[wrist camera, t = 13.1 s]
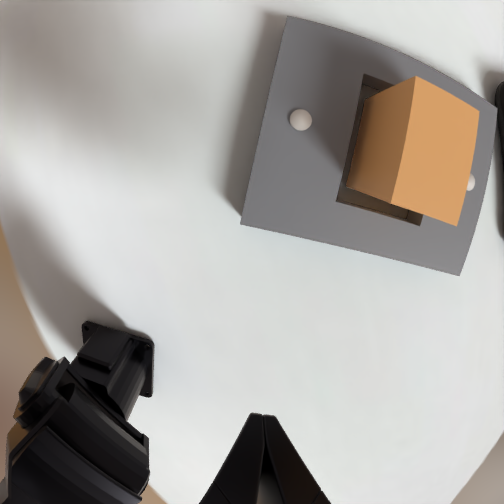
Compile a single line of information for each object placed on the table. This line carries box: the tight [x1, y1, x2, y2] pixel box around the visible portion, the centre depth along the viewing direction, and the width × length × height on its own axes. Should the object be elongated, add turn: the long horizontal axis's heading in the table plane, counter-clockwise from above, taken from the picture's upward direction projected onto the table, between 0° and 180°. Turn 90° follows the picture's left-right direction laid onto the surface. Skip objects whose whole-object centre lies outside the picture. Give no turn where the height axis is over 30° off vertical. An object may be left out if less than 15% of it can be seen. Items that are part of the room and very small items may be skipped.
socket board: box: [240, 16, 498, 276], centre depth 16 cm, size 13×16×2 cm
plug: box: [346, 76, 480, 226], centre depth 14 cm, size 6×4×7 cm, turn 168°
